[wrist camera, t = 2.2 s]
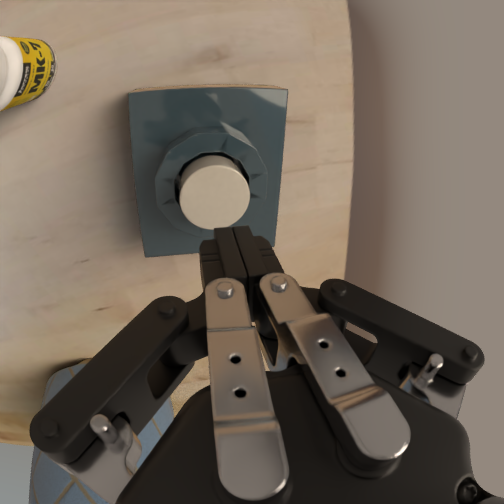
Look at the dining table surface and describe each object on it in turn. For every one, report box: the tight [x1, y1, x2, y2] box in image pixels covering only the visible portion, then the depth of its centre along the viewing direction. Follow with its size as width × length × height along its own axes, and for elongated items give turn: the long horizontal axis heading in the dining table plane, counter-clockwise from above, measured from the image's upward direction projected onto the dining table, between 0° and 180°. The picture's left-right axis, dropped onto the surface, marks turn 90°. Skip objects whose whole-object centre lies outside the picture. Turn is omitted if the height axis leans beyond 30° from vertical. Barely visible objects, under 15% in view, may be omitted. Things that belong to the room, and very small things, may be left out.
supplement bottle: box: [0, 36, 57, 111], centre depth 12 cm, size 5×5×8 cm
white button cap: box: [179, 155, 250, 230], centre depth 18 cm, size 4×4×2 cm
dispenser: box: [128, 84, 288, 257], centre depth 21 cm, size 12×10×5 cm
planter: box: [29, 359, 174, 504], centre depth 28 cm, size 19×19×20 cm
